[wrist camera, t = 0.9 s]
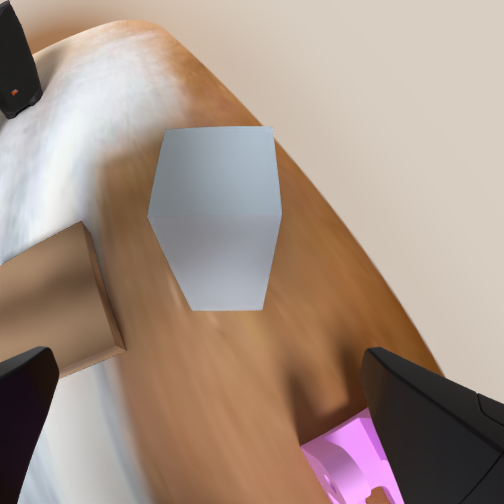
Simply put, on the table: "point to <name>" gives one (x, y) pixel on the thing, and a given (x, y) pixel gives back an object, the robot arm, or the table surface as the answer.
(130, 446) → the table surface
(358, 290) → the table surface
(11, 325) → the plinth
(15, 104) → the portable speaker
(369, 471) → the bracket
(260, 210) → the block
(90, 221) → the table surface
